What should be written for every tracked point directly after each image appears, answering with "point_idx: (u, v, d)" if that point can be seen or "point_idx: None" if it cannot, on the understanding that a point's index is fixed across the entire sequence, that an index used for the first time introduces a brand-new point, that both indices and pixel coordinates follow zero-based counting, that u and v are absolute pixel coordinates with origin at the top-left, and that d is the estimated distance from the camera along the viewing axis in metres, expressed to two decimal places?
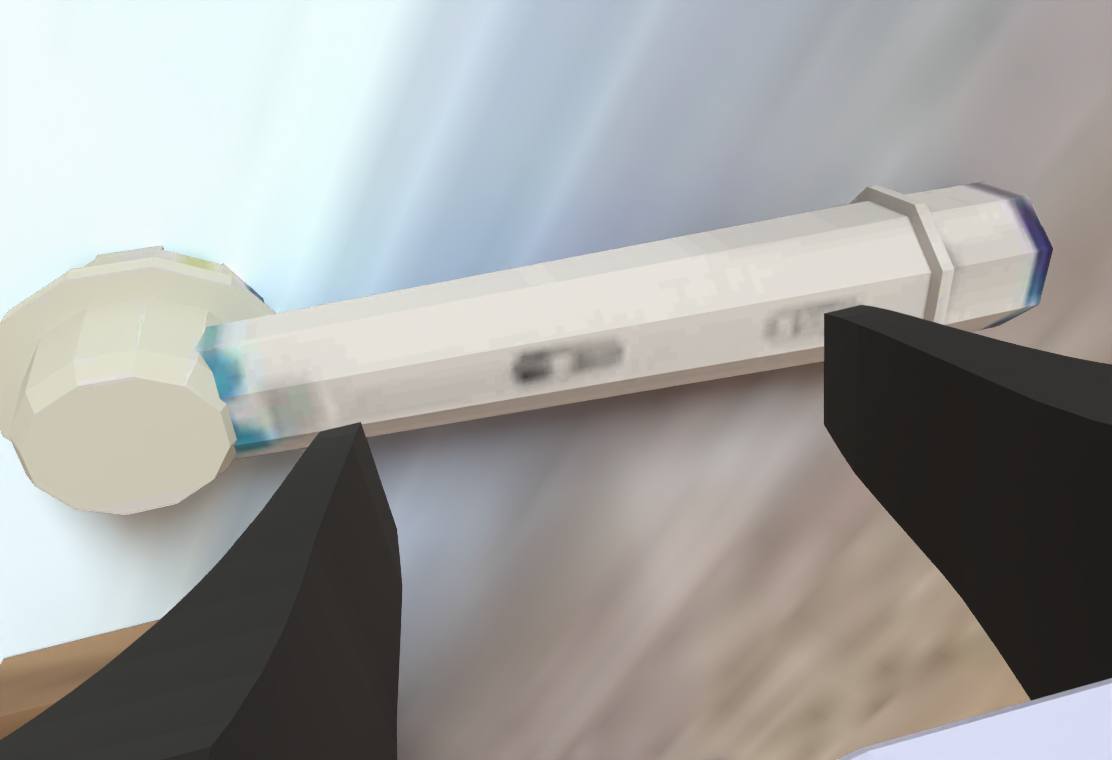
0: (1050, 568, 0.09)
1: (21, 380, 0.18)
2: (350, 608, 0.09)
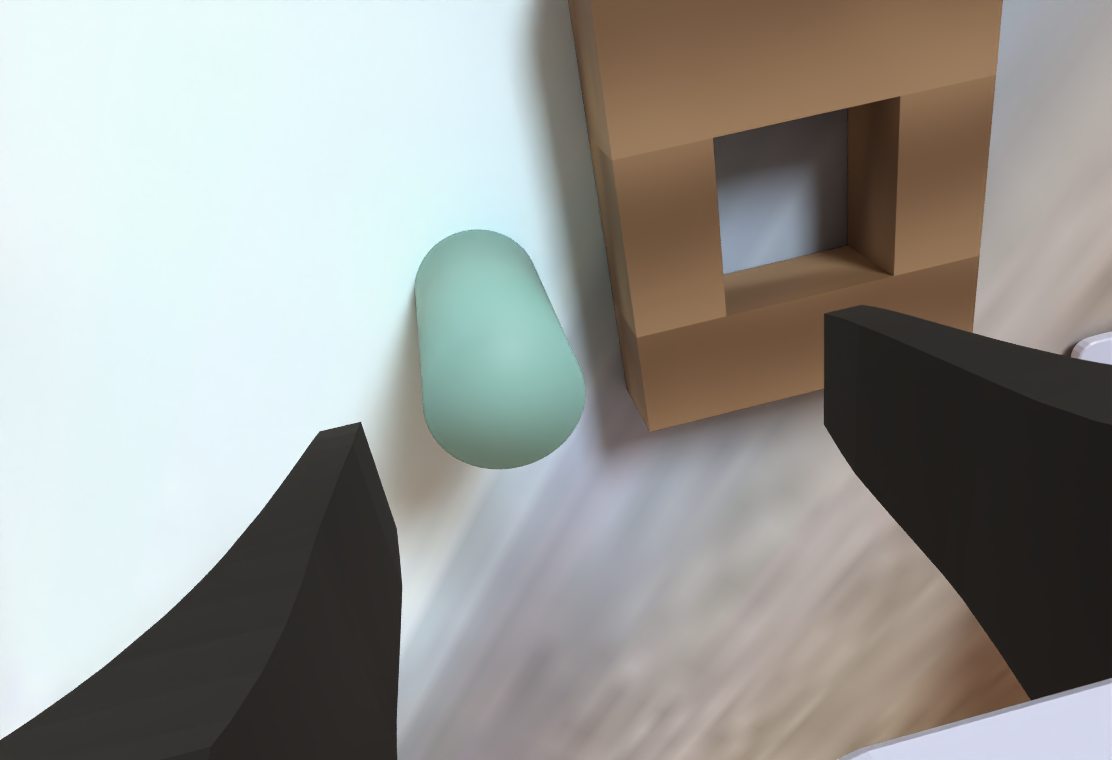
0: (1050, 568, 0.09)
1: None
2: (350, 608, 0.09)
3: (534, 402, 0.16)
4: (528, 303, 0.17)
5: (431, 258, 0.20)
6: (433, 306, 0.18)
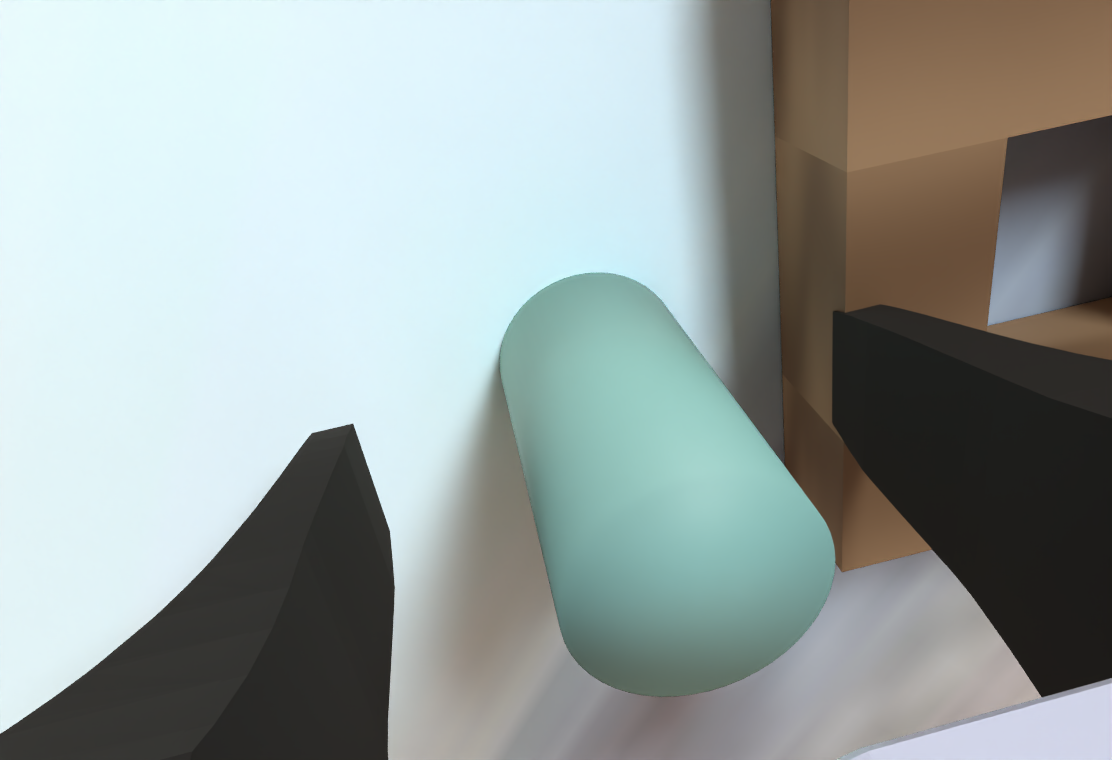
0: (1062, 565, 0.09)
1: None
2: (340, 610, 0.09)
3: (747, 594, 0.09)
4: (728, 416, 0.10)
5: (531, 317, 0.13)
6: (554, 409, 0.11)
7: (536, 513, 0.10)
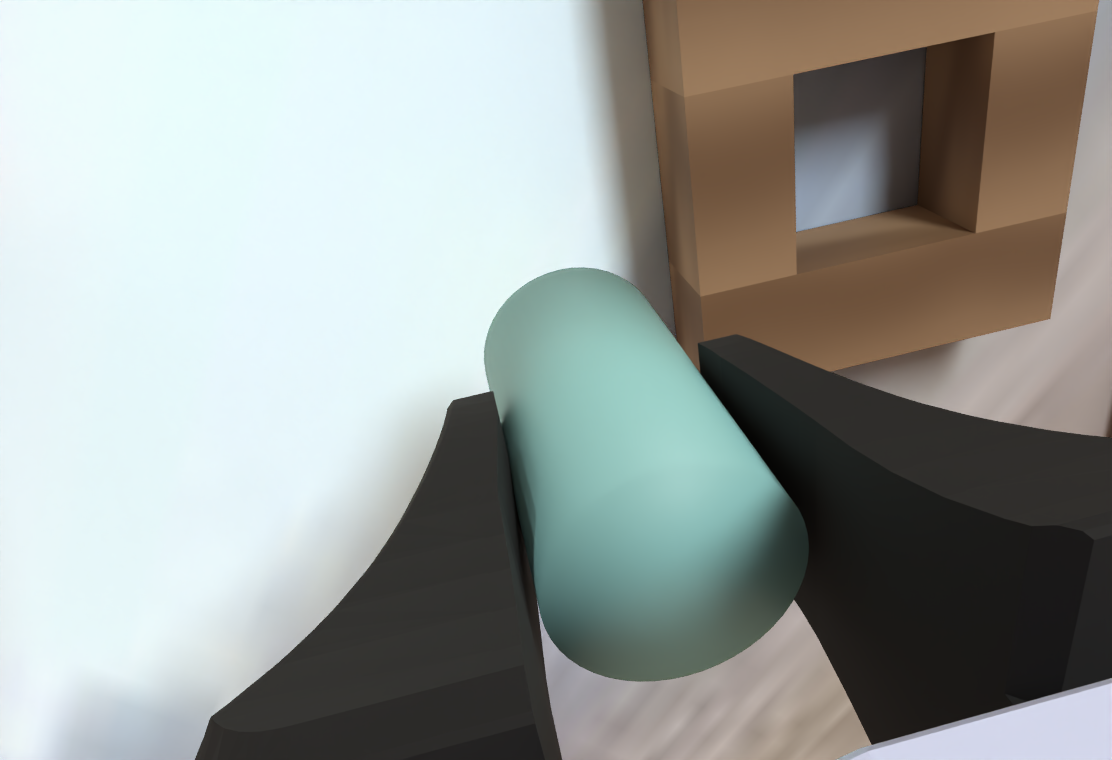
0: (874, 615, 0.08)
1: None
2: (517, 566, 0.09)
3: (723, 580, 0.09)
4: (705, 408, 0.10)
5: (515, 311, 0.13)
6: (536, 400, 0.11)
7: (518, 502, 0.10)
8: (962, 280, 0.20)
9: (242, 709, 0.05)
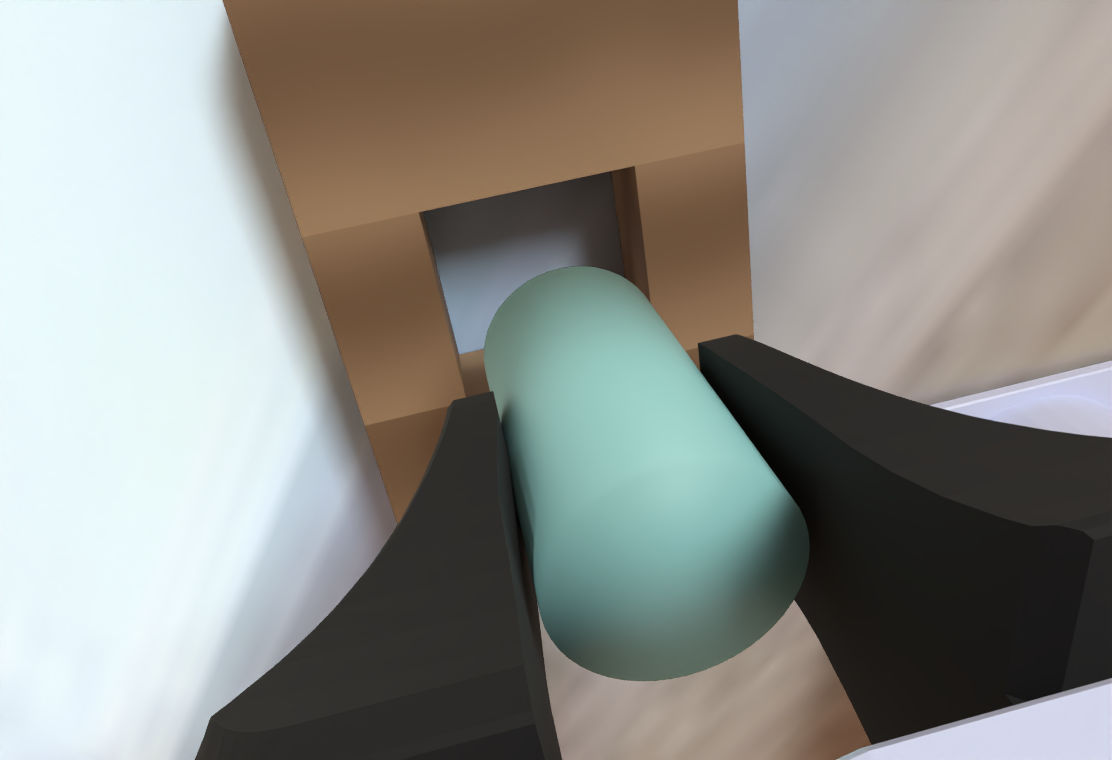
0: (874, 614, 0.08)
1: None
2: (517, 566, 0.09)
3: (724, 580, 0.09)
4: (705, 407, 0.10)
5: (514, 310, 0.13)
6: (536, 399, 0.11)
7: (518, 502, 0.10)
8: None
9: (242, 709, 0.05)
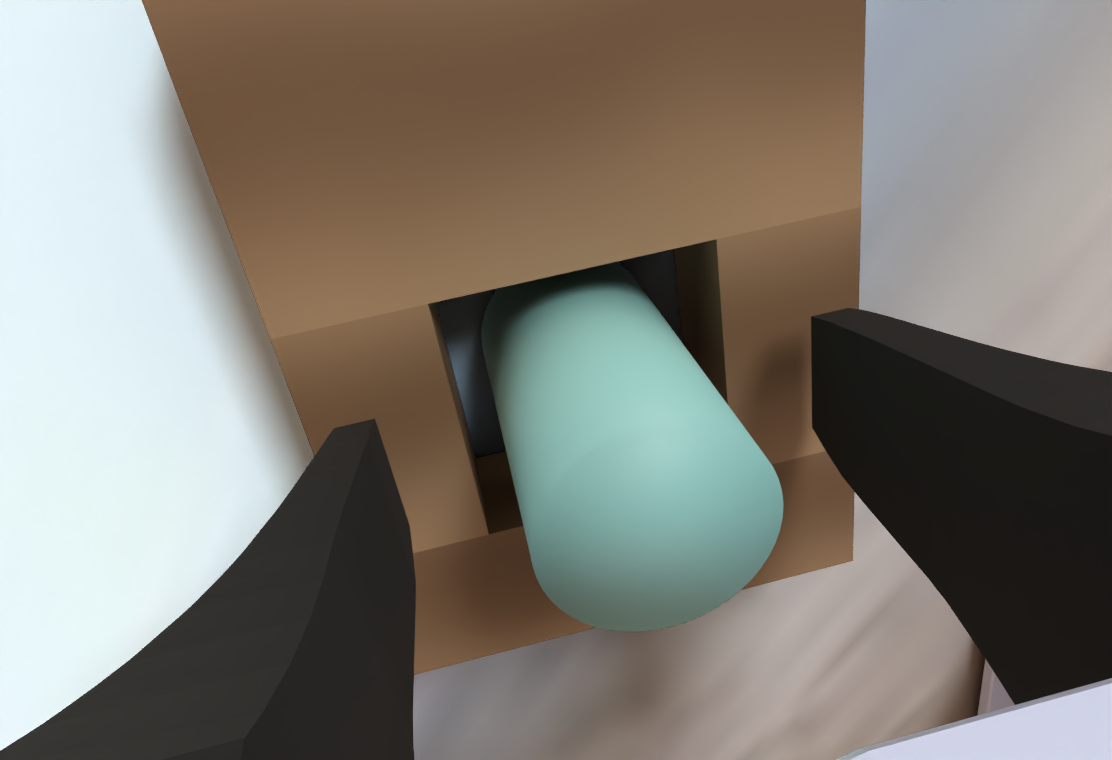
0: (1032, 573, 0.09)
1: None
2: (368, 604, 0.09)
3: (704, 535, 0.10)
4: (687, 375, 0.11)
5: (510, 291, 0.14)
6: (530, 371, 0.12)
7: (512, 466, 0.11)
8: None
9: None
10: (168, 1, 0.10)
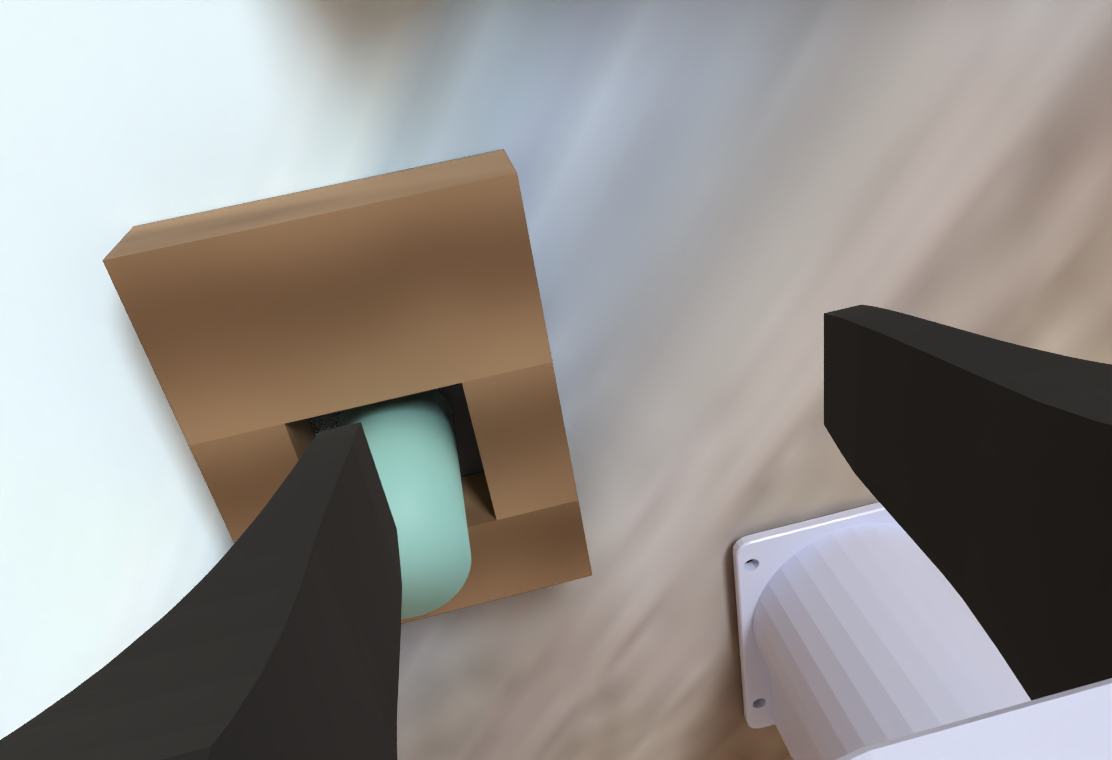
0: (1050, 568, 0.09)
1: None
2: (350, 608, 0.09)
3: (425, 565, 0.18)
4: (423, 473, 0.18)
5: None
6: None
7: None
8: (497, 553, 0.23)
9: None
10: (123, 274, 0.17)
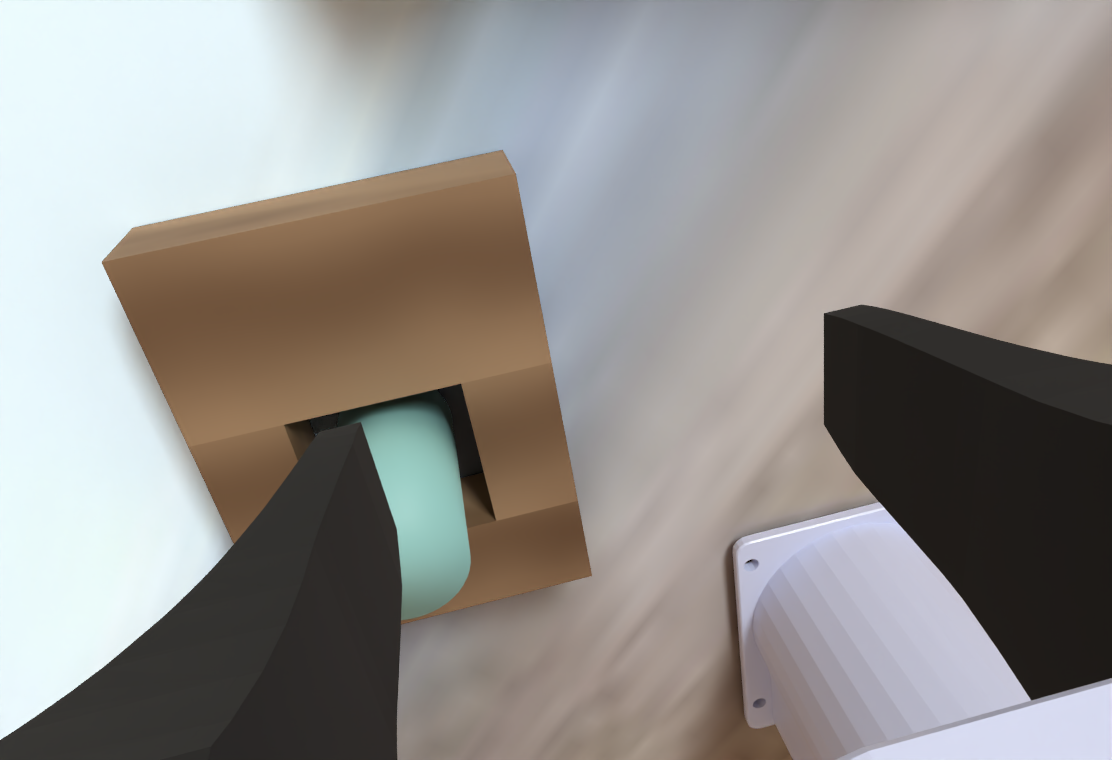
0: (1050, 568, 0.09)
1: None
2: (350, 608, 0.09)
3: (424, 565, 0.18)
4: (422, 474, 0.18)
5: None
6: None
7: None
8: (496, 554, 0.23)
9: None
10: (122, 276, 0.17)
